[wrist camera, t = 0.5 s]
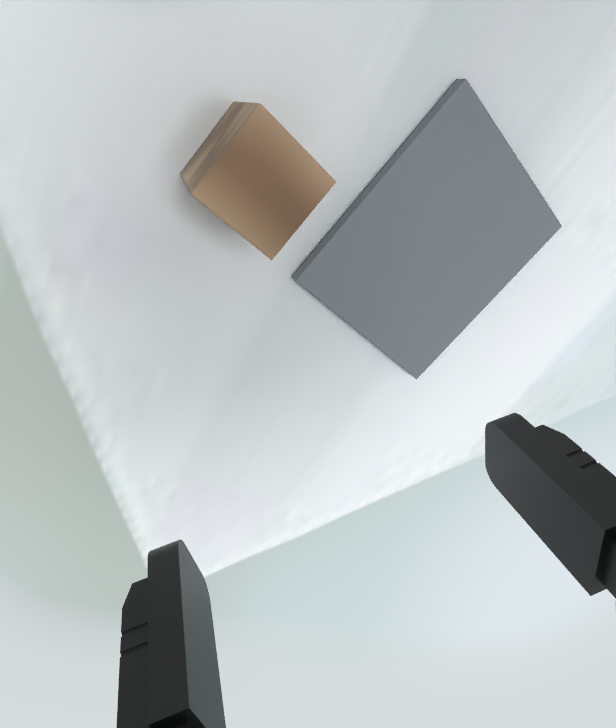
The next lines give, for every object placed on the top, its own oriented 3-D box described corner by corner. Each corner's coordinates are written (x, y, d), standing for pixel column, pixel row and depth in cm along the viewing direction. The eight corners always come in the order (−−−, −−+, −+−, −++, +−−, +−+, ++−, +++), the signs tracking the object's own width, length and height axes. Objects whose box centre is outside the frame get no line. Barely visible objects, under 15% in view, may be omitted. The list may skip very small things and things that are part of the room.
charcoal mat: (456, 79, 30) (465, 78, 29) (552, 223, 37) (561, 226, 36) (291, 276, 33) (295, 280, 32) (410, 373, 40) (416, 379, 39)
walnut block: (233, 101, 27) (260, 103, 21) (296, 164, 29) (336, 181, 23) (179, 173, 28) (191, 194, 22) (245, 228, 30) (271, 260, 24)
